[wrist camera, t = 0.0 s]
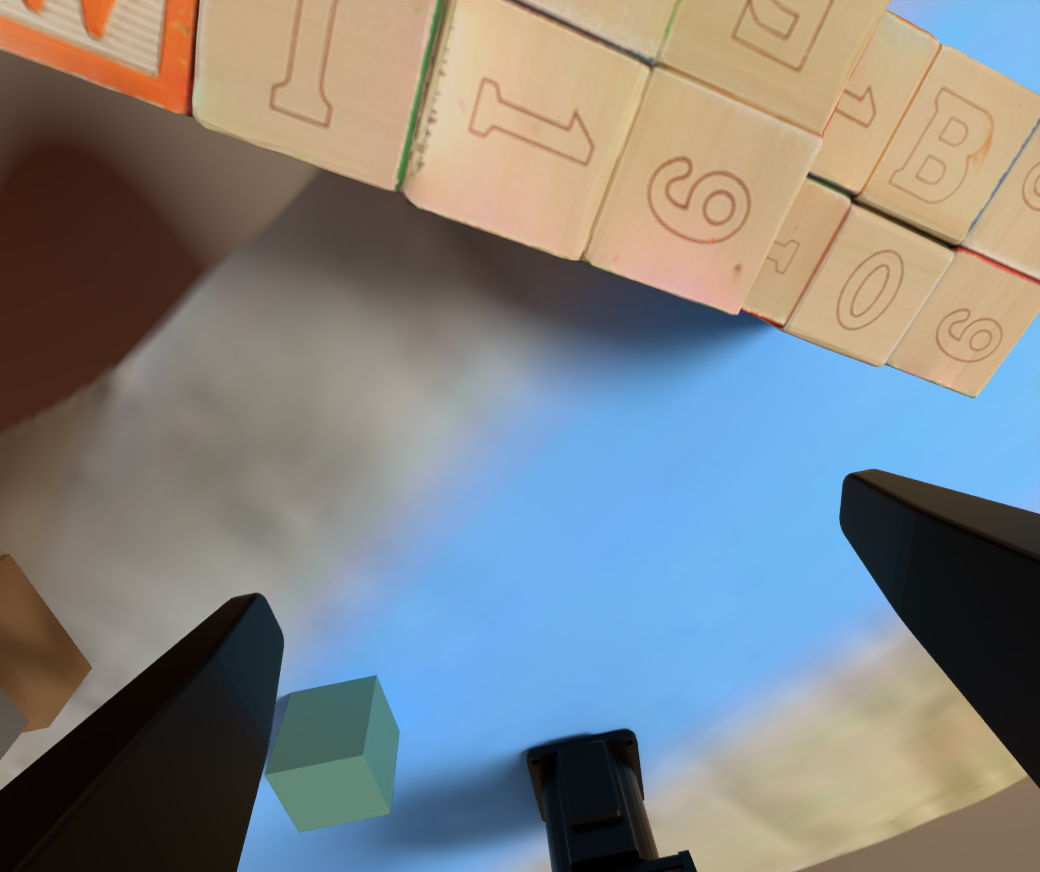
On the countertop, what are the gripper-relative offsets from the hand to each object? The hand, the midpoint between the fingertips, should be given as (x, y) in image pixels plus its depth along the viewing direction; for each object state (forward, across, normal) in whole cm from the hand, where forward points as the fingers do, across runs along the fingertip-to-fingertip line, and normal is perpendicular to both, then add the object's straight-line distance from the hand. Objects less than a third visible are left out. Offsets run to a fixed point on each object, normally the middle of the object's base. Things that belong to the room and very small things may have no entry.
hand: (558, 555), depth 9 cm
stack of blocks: (+15, -4, -6) cm, 17 cm away
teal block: (+15, +12, +19) cm, 27 cm away
